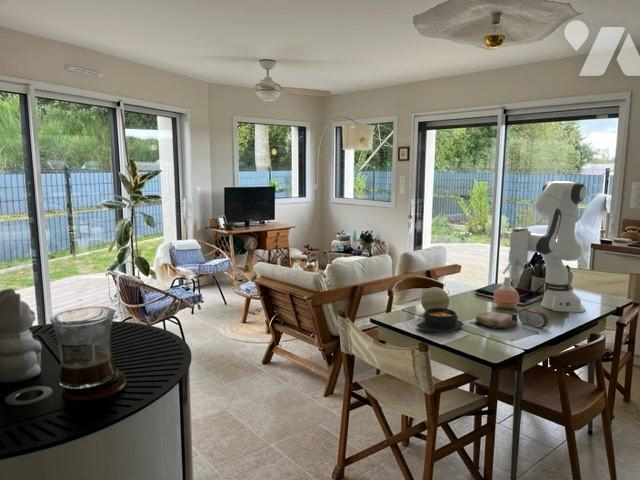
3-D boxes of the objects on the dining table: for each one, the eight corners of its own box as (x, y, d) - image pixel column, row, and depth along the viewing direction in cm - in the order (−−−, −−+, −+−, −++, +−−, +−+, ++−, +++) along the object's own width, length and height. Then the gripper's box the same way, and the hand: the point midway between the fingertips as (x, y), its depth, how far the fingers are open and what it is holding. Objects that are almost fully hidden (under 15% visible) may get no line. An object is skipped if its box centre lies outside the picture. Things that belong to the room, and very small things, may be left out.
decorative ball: (437, 320, 253) (438, 292, 251) (415, 313, 265) (415, 287, 262) (454, 314, 263) (455, 287, 260) (432, 308, 274) (432, 282, 272)
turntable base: (511, 321, 251) (511, 318, 251) (510, 329, 238) (510, 326, 238) (482, 318, 256) (483, 315, 256) (481, 326, 243) (481, 323, 243)
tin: (547, 329, 238) (549, 313, 237) (544, 330, 237) (545, 314, 235) (520, 321, 251) (521, 305, 249) (516, 322, 249) (517, 306, 248)
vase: (514, 304, 280) (516, 275, 277) (521, 311, 267) (523, 280, 264) (490, 304, 282) (491, 274, 279) (496, 311, 268) (498, 280, 265)
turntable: (517, 317, 252) (517, 309, 252) (517, 329, 234) (518, 320, 233) (477, 312, 260) (477, 305, 259) (474, 324, 241) (475, 316, 241)
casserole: (445, 319, 255) (446, 303, 254) (472, 329, 239) (472, 313, 238) (408, 326, 244) (409, 311, 242) (433, 338, 227) (434, 321, 226)
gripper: (522, 263, 234) (520, 290, 236) (526, 256, 252) (525, 281, 254) (508, 261, 237) (506, 289, 239) (514, 255, 255) (512, 280, 257)
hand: (516, 285), depth 247 cm, fingers open, 8 cm apart
